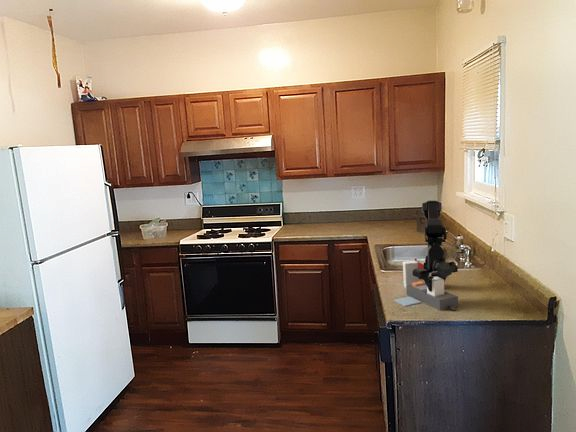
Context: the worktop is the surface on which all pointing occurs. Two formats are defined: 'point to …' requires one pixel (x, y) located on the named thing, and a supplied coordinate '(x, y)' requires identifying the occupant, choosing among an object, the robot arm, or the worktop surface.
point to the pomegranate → (419, 264)
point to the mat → (407, 301)
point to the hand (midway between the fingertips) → (435, 290)
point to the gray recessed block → (432, 297)
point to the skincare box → (409, 272)
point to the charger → (437, 287)
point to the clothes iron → (419, 223)
